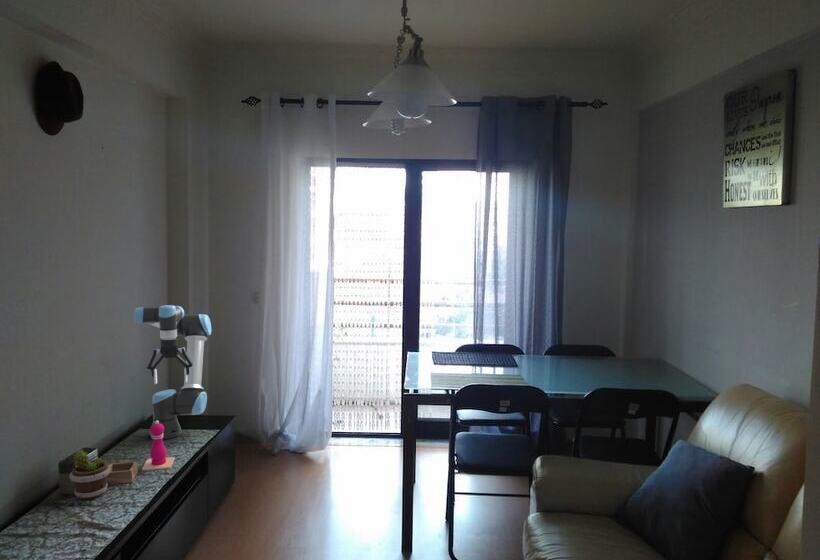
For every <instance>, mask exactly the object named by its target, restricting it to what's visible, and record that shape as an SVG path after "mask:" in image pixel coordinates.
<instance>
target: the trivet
mask: <svg viewBox="0 0 820 560" xmlns="http://www.w3.org/2000/svg"><path fill="white" fill-rule="evenodd" d="M175 459H176V458H175V456H172V457H171V456H170V457H166V463H164V464H162V465H152V462H151V460H152V458H148V459H146V461H145V462H144V464H143V467H142V469H141V471H142V472H144V471H153V470H154V471H155V470H165V469H167V470H168V469H171V468H172V466H173V463H174V461H175Z"/></svg>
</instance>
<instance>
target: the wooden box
mask: <svg viewBox="0 0 820 560" xmlns="http://www.w3.org/2000/svg"><path fill="white" fill-rule="evenodd" d="M108 465H109V466H110V468H111V469H110V473H109V474H108V477H107V482H106V483H107V484H108V485H116V484H117V485H118V484H126V483H127V484H128V483H133V482H134V480H135V478H136V476H137V475H138V471H139V469H138V461H129V462H127V461H126V462H125V461H124V462H116V463H114V462H113V463H110V464H108Z"/></svg>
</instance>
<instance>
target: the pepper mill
mask: <svg viewBox="0 0 820 560" xmlns="http://www.w3.org/2000/svg"><path fill="white" fill-rule="evenodd" d="M149 432H151V433H152V438H151V439H152V446H151V449H150V452H149V457H150V459H152V460H151V462H152V465H162V464H164V463H166V458H167V457H166V456H167V455H168V451H167V448H166V446H165V445H164V442H163V441H164V439H163V432H164V426H163V425H162V424H159V421H155V424H154V425H153V424H152V425H150V428H149Z"/></svg>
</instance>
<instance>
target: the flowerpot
mask: <svg viewBox="0 0 820 560" xmlns="http://www.w3.org/2000/svg"><path fill="white" fill-rule="evenodd" d="M89 457H90V456H89V454H88V452H87V451H84V449H80V448H79V447H78V449H76V452H75V454H73V457H72V458H73V459H72V462H74V463H73V466H75V467H76V466H77V467H76V468H75V467H74V468H72V471H71V472H70V473H69V477H68V479H70V481H71V482H72V483H73V486H74V488H75V489H74V495H75V496H76V497H77V498H78V499H79V498H80V500H82V499H87V500H93V499H94V498H95V497H97V498H99V496H100V497H101V495H102V496H103V495H105V492H106V491H108V490H107V489H108V486H109V484H107V483H106V482H107V477H108V474H109V473H110V469H111V468H110V466H109V465H110V464H108V463H107V462H106V461H103V459H102V458H101V457H98V456H94V457H93V459H92V460H91V461H89ZM92 498H93V499H92ZM95 499H96V498H95Z"/></svg>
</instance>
